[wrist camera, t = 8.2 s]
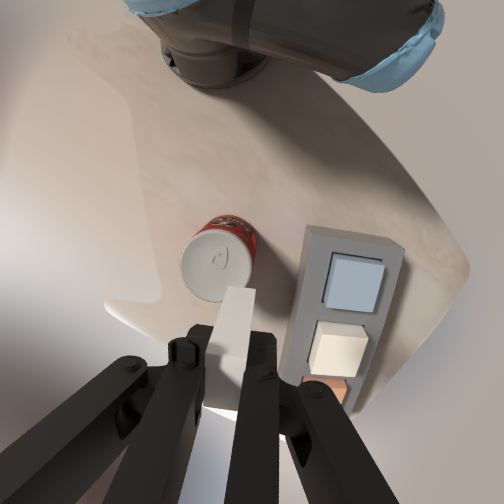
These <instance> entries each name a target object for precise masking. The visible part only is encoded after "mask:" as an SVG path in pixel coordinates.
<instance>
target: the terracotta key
mask: <svg viewBox="0 0 504 504" xmlns="http://www.w3.org/2000/svg"><path fill="white" fill-rule="evenodd" d="M309 380H316V381H320V382H323V383H325V384H327V385H328V386H329V387H330V388H331V389H332V390H333V392H334V394H335V395H336V397H337V399H338V400H339V402H340V404H341V403H342V401H343V398H344V396H345V393H346V390H347V387H346V384H345V380H344V379H330V378H317V377H306V376H302V380H301V383H302V382H304V381H309ZM301 383H300V384H301Z"/></svg>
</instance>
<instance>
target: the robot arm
mask: <svg viewBox="0 0 504 504" xmlns="http://www.w3.org/2000/svg"><path fill="white" fill-rule="evenodd" d="M123 1H124V2H125V5H126V7H127V8H128V9H129V10H130V11H132V13H135V14H136V15H137V16H138V17H139V18H140V19H141V20H142V21H143V22H145V23H146V24H147V25H148V26H149V27H150V28H151V30H152V31H153V32H154V33H155V34H156V35H157V36H158V37H159V38H160V39H161V51H162V54H163V57H164V59H165V61H166V63H167V65H168V66H169V68H170V69H171V70H172V71H173V72H174V73H175V74H176V75H177V76H179V77H180V78H181V79H183V80H184V81H186V82H187V83H190V84H192V85H194V86H198V87H202V88H209V89H220V88H227V87H231V86H235V85H238V84H240V83H243V82H245V81H247V80H248V79H250V78H252V77H253V76H254V75H256V74H257V73H258V72H259V71H260V70H261V69H262V68H263V67H264V66H265V65H266V63H267V62H268V60H269V58H270V57H274V58H278V59H281V60H284V61H287V62H291V63H294V64H297V65H300V66H303V67H306V68H308V69H311V70H314V71H317V72H320V73H322V74H325V75H328V76H330V77H332V79H333V80H334V81H336V82H339V83H345V84H350V85H354V86H356V87H358V88H361V89H364V90H366V91H369V92H373V93H379V92H380V93H382V92H389V91H392V90H394V89H396V88H398V87H399V86H401V85H403V84H404V83H405V82H407V81H408V80H409V79H410V78H411V77H412V76H413V75H414V74H415V73H416V72H417V71H418V70H419V69H420V68H421V66H422V65H423V64H424V63H425V61H426V60H427V59H428V57H429V56H430V54H431V53H432V51H433V49H434V47H435V45H436V42H435V39H436V38H437V37H438V36H439V35H440V34H441V32H442V29H443V25H444V19H445V15H444V14H445V13H444V9H443V7H442V5H441V3H440V2H439V1H438V0H123ZM255 293H256V289H251V288H243V287H235V286H228V288H227V291H226V294H225V297H224V300H223V302H222V305H221V308H220V311H219V314H218V317H217V320H216V323H215V326H207V325H200V324H196V325H195V326H193V327H192V328H190V329H189V332H188V334H187V336H186V337H181V338H176V339H173V340H171V341H170V342H169V343H168V358H169V362H168V364H167V365H164V366H155V367H154V366H151V367H147V363H146V361H145V360H144V359H142V358H141V357H137V356H123V357H121V358H119V359H117V360H116V361H114V362H113V363H112V364H111V365H109V366H108V367H107V368H106V369H105V370H103V371H102V372H101V373H99V374H98V375H97V376H96V377H94V378H93V379H92V380H91V381H89V382H88V383H87V384H86V385H84V386H83V387H82V388H81V389H79V390H78V391H77V392H76V393H74V394H73V395H72V396H71V397H70V398H68V399H67V400H66V401H65V402H63V403H62V404H61V405H60V406H58V407H57V408H56V409H55V410H53V411H52V412H51V413H50V414H48V415H47V416H46V417H45V418H43V419H42V420H41V421H40V422H38V423H37V424H36V425H35V426H33V427H32V428H31V429H30V430H28V431H27V432H26V433H25V434H23V435H22V436H21V437H20V438H19V439H17V440H16V441H15V442H13V443H12V444H11V445H10V446H9V447H7V448H6V449H5V450H4V451H2V452H1V453H0V504H75V503H76V502H77V501H78V500H79V499H80V498H81V497H82V496H83V495H84V493H85V492H86V491H87V490H88V489H89V488H90V487H91V486H92V485H93V484H94V483H95V481H96V480H97V479H98V478H99V477H100V476H101V475H102V474H103V473H104V471H105V470H106V469H107V468H108V467H109V466H110V465H111V464H112V463H113V461H114V460H115V459H116V458H117V457H118V456H119V455H120V454H121V452H122V451H123V450H124V449H125V448H126V447H127V446H128V445H129V446H128V448H127V450H126V452H125V454H124V457H123V459H122V461H121V463H120V465H119V467H118V470H117V472H116V474H115V476H114V479H113V481H112V483H111V485H110V487H109V489H108V492H107V494H106V496H105V498H104V501H103V503H102V504H178V500H179V497H180V493H181V489H182V485H183V482H184V478H185V474H186V470H187V466H188V462H189V459H190V455H191V452H192V448H193V444H194V440H195V436H196V433H197V429H198V426H199V422H200V418H201V407H202V403H203V406H206V407H212V408H219V409H226V410H233V411H238V414H237V421H236V428H235V435H234V441H233V447H232V454H231V461H230V467H229V473H228V480H227V486H226V493H225V499H224V504H279V434H282V435H285V439H286V442H287V445H288V448H289V450H290V453H291V456H292V459H293V461H294V464H295V467H296V470H297V473H298V475H299V478H300V481H301V483H302V486H303V489H304V491H305V494H306V497H307V500H308V502H309V504H399V502H398V501H397V499H396V497H395V496H394V494H393V492H392V490H391V489H390V487H389V485H388V484H387V482H386V480H385V479H384V477H383V475H382V473H381V472H380V470H379V468H378V467H377V465H376V464H375V462H374V460H373V458H372V456H371V455H370V453H369V452H368V450H367V448H366V446H365V445H364V443H363V441H362V439H361V438H360V436H359V434H358V433H357V431H356V429H355V428H354V426H353V424H352V422H351V421H350V419H349V417H348V416H347V414H346V412H345V411H344V409H343V407H342V405H341V404H340V402H339V400H338V399H337V397H336V395H335V394H334V392H333V390H332V389H331V388H330V387H329V386H328V385H327V384H325V383H323V382H320V381H316V380H309V381H304V382H302V383H301V384H299V386H294V385H291V384H289V383H286V382H285V381H283V380H282V379H281V378H280V377H279V375H278V373H277V339H276V338H275V337H274V335H273V334H272V333H267V332H258V331H251V326H252V318H253V309H254V301H255Z"/></svg>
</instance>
